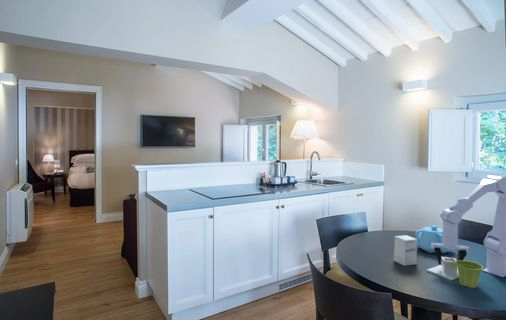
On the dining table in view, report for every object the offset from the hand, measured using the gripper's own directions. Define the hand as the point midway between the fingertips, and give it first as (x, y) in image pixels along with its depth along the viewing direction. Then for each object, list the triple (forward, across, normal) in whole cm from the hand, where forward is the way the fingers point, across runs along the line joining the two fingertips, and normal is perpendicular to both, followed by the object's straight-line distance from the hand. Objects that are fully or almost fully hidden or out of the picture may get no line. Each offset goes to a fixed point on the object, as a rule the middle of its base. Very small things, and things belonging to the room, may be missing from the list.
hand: (449, 265), depth 140 cm
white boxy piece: (+2, 0, 0) cm, 2 cm away
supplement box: (+3, -18, +6) cm, 19 cm away
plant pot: (+3, +4, -12) cm, 13 cm away
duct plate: (+3, +1, +1) cm, 3 cm away
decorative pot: (+3, -1, +30) cm, 30 cm away
